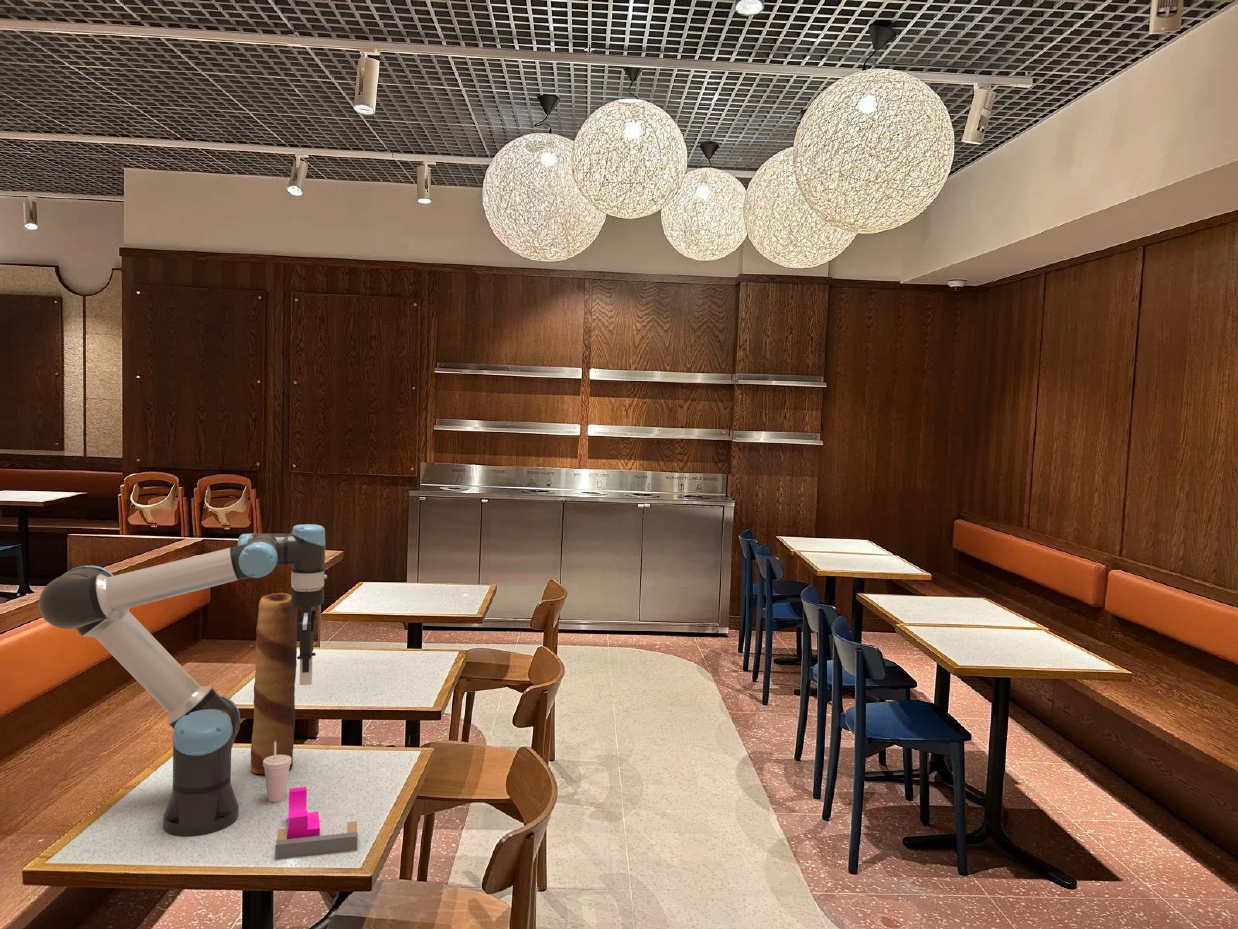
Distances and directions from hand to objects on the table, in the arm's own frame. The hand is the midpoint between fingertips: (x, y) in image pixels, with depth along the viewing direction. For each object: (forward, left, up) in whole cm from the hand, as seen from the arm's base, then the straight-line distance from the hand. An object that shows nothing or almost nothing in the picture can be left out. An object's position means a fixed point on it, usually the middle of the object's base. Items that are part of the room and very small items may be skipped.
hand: (305, 684), depth 208 cm
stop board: (+4, -35, -26) cm, 43 cm away
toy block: (+1, -24, -26) cm, 36 cm away
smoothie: (-6, -6, -26) cm, 27 cm away
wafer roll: (-8, +13, -26) cm, 30 cm away
